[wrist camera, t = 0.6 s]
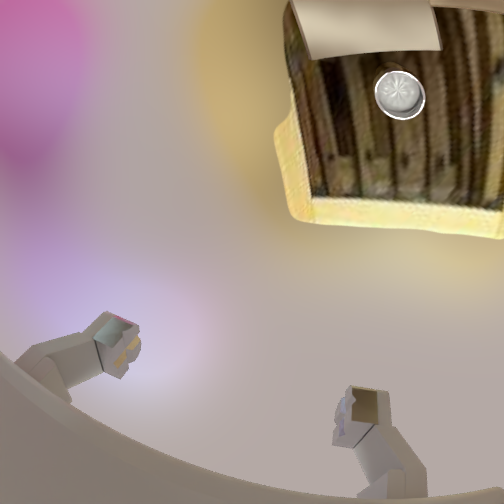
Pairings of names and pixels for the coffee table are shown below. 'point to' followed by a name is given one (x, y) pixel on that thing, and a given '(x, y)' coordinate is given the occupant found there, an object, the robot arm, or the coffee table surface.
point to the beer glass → (398, 91)
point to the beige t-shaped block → (375, 24)
